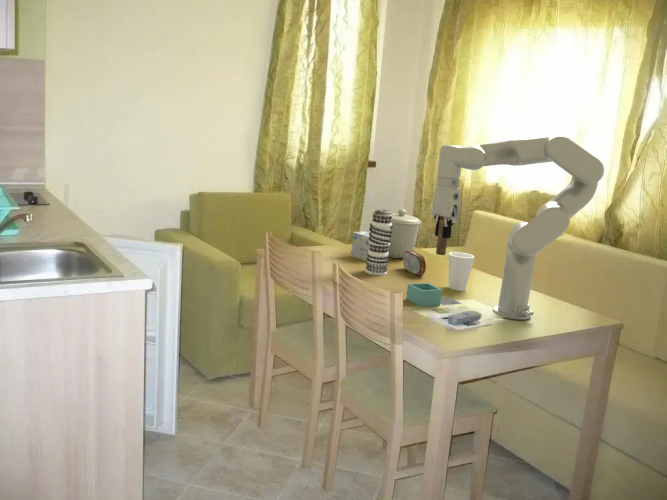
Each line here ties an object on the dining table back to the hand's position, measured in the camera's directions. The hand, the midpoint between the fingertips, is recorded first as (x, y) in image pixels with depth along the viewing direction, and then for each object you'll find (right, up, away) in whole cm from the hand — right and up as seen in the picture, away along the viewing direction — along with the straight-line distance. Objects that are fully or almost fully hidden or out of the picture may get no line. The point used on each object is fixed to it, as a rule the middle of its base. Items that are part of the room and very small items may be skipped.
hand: (442, 236), depth 235 cm
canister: (-9, -7, +73) cm, 74 cm away
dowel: (0, -6, +1) cm, 6 cm away
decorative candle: (-20, -14, +40) cm, 47 cm away
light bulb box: (-24, -8, +62) cm, 67 cm away
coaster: (+2, -23, +8) cm, 24 cm away
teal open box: (-6, -23, +4) cm, 24 cm away
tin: (-5, -14, +46) cm, 48 cm away
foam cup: (+10, -19, +28) cm, 35 cm away
